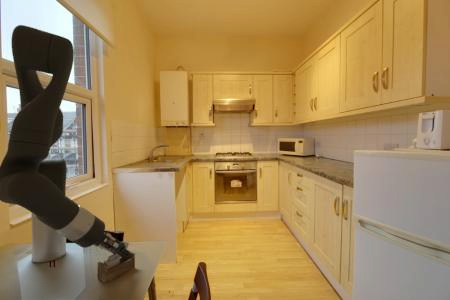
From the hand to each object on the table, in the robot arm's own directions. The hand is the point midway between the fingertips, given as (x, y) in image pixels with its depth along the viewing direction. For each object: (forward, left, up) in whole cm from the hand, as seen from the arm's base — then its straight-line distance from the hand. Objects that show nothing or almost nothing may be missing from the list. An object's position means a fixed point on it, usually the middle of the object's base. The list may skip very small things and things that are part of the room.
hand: (123, 253), depth 69 cm
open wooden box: (0, -2, -5) cm, 5 cm away
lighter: (0, -2, -5) cm, 5 cm away
